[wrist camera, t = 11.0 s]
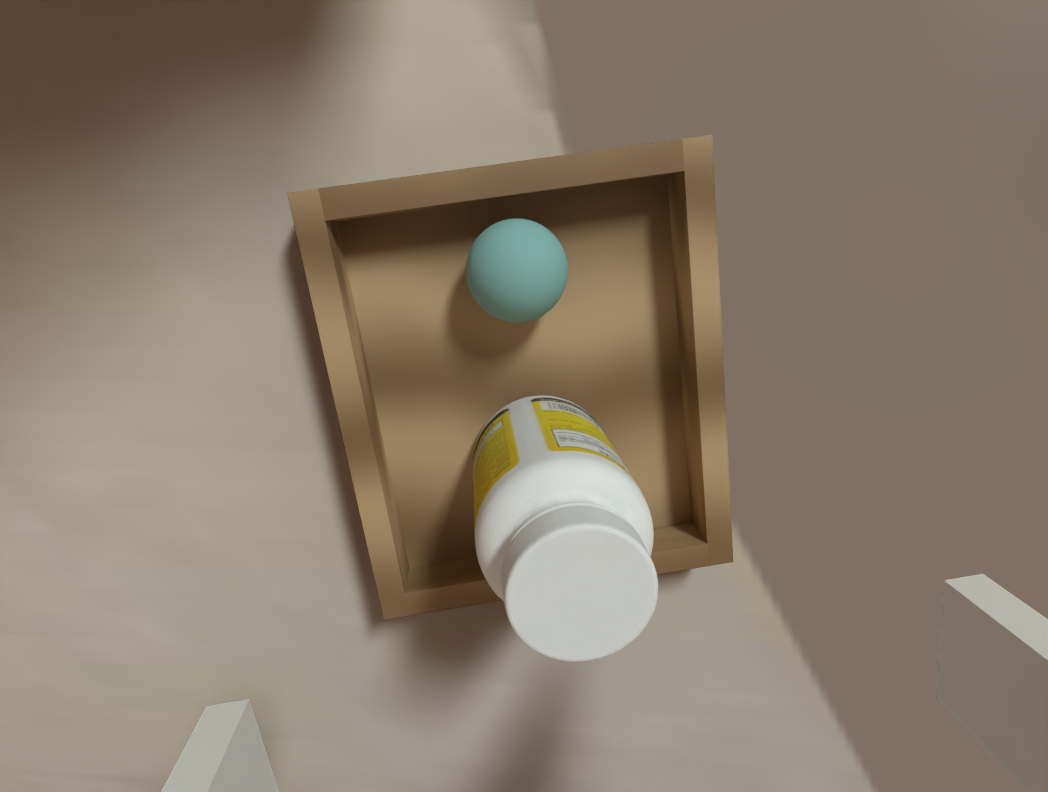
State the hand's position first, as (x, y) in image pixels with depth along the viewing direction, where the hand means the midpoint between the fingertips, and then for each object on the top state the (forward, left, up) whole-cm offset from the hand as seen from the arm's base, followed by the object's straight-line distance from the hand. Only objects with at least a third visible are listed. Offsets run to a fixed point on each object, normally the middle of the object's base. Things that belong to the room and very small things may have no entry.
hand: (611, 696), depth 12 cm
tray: (-3, 0, -14) cm, 15 cm away
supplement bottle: (0, 0, -14) cm, 14 cm away
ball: (-7, 0, -14) cm, 16 cm away
